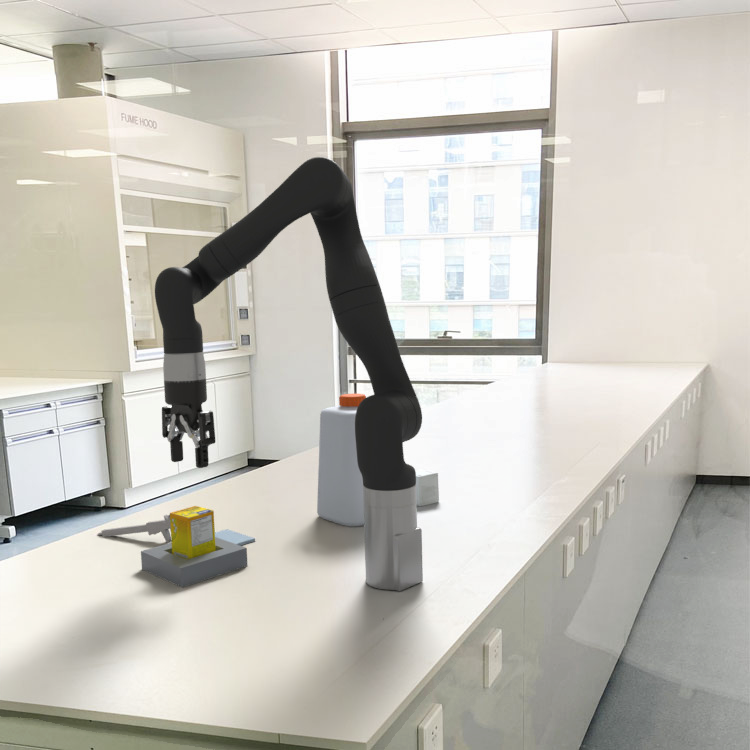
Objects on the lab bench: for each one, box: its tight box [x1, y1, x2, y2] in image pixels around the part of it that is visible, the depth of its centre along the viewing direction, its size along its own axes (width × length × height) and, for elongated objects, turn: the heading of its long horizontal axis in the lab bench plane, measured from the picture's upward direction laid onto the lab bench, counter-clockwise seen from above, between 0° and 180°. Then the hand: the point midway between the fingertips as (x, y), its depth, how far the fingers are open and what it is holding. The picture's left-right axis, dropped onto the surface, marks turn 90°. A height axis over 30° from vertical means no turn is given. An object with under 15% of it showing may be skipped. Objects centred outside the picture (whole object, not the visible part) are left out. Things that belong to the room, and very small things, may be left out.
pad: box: [215, 529, 256, 546], centre depth 157 cm, size 10×10×1 cm
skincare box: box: [415, 468, 440, 507], centre depth 184 cm, size 6×6×7 cm
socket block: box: [140, 537, 248, 588], centre depth 142 cm, size 14×14×4 cm
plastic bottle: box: [316, 393, 367, 527], centre depth 172 cm, size 15×15×28 cm
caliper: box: [96, 514, 172, 544], centre depth 161 cm, size 20×1×6 cm, turn 69°
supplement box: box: [169, 505, 216, 560], centre depth 142 cm, size 6×6×11 cm
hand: (189, 464), depth 141 cm, fingers open, 8 cm apart
